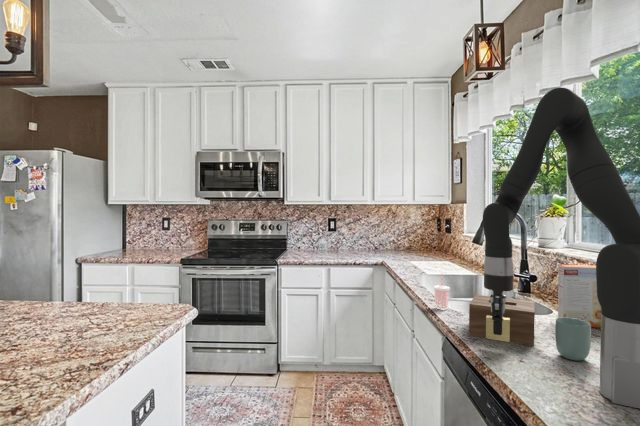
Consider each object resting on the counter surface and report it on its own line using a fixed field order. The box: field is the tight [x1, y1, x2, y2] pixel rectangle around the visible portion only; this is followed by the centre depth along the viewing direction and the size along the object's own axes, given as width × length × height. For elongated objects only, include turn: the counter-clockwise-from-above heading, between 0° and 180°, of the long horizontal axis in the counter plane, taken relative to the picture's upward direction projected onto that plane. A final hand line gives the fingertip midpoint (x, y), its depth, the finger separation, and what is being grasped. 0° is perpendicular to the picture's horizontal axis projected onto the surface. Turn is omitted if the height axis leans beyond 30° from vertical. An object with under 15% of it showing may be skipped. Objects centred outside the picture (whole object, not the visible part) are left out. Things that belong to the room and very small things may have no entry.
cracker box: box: [557, 264, 601, 329], centre depth 129 cm, size 14×6×21 cm, turn 76°
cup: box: [554, 317, 592, 362], centre depth 100 cm, size 8×8×10 cm
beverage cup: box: [433, 273, 451, 310], centre depth 148 cm, size 6×6×14 cm
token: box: [485, 315, 511, 343], centre depth 105 cm, size 2×6×6 cm, turn 62°
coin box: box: [468, 294, 536, 347], centre depth 120 cm, size 15×18×10 cm
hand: (497, 332), depth 105 cm, fingers closed on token, 2 cm apart
